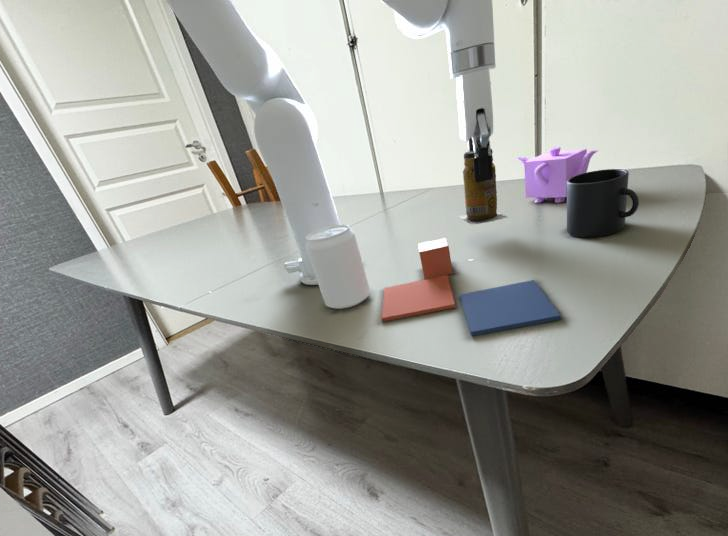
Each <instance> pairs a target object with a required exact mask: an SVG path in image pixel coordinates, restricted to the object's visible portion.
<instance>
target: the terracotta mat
mask: <svg viewBox="0 0 728 536" xmlns="http://www.w3.org/2000/svg"><path fill="white" fill-rule="evenodd" d="M456 308H457V307H456V302H455V298H454V293H453V290H452V286H451V283H450V279H449V275H444V276H440V277H435V278H430V279H422V280H417V281H416V280H415V281H411V282H406V283H402V284H397V285H392V286H387V287H384V292H383V300H382V309H381V322H387V321H394V320H400V319H403V318H410V317H414V316H418V315H425V314H430V313H434V312H441V311H444V310H445V311H446V310H451V309H456Z"/></svg>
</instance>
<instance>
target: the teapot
mask: <svg viewBox="0 0 728 536" xmlns="http://www.w3.org/2000/svg"><path fill="white" fill-rule="evenodd" d="M561 149H562V148H561V147H560V146H556V147H552V148H549V149H548V152H544V153H542V154H540V155H537V156H535V157H533V158H531V159H529V158H527V157H525V156H523V157H522V156H521V157H517V158H516V159H517V160H519V161H520V162H521V164H522V165H523V168H524V184H525V185H524V187H525V198H526V199H527V198H528V199H529V198H531V199H532V198H533V199H534V198H536V199H535V200H534V203H535V204H538V203H543V202H545V199H546V198H554V203H557V204H558V203H563V202H565V201H566V198H567V180H568V179H570V178H571V177H574V176H576V175H579V174H583V173H587V172H588V169H589V165H590V161H591V159H592V157H593V156H594V154H596V153H598V152H599V151H600V150H599V149H595V150H590V151H588V150H587V148H584V149H572V150H571V149H570V150H561ZM587 151H588V152H587Z"/></svg>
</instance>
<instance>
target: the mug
mask: <svg viewBox="0 0 728 536" xmlns="http://www.w3.org/2000/svg"><path fill="white" fill-rule="evenodd" d="M629 174H630V173H629V171H628V170H627V169H622V168H607V169H599V170H593V171H587V172H586V173H583V174H579V175H576V176H574V177H571V178H570V179H568V180H567V197H566V231H567V234H568V235H570V236H573V237H577V238H599V237H604V236H609V235H613V234H615V233H618V232H620V231H622V230H623V229H624V227H625V225H626V218H628V217H632V216H633V215H634V214H635V213H636V212H637V210H638V209H639V205H640V200H639V195H638V194H637V193H636V192H635V191H634V190H633V189H630V188H629V176H630V175H629ZM628 197H630V199H631V201H632V205H631V208H630V209H629V210H628V211H627V201H628Z"/></svg>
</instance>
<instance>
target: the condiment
mask: <svg viewBox="0 0 728 536" xmlns="http://www.w3.org/2000/svg"><path fill="white" fill-rule="evenodd" d="M493 152H494V151H493V149H492V148H491V155H492V170H493V178H492V179H491V180H486V181H481V182H476V181H475V175H474V163H473V158H475V156H474V150H472V151H468V150H467V152H464V153H463V160H464V161H463V165H464V167H463V169H462V176H463V177H462V178H463V179H462V181H463V189H464V190H463V192H464V203H465V214H464V215H459V216H458V217H459V218H460V219H462V220H463V221H464V222H466V223H468V224H470V225H471V226H472V225H473V226H474V225H480V224H486V223H490V222H495V221H498V220H504V219H508V218H509V216H507V215H505V214H503V213H500V212H498V196H497V193H498V192H497V190H498V189H497V175H496V166H495V164H494V162H493V161H494V157H493Z"/></svg>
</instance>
